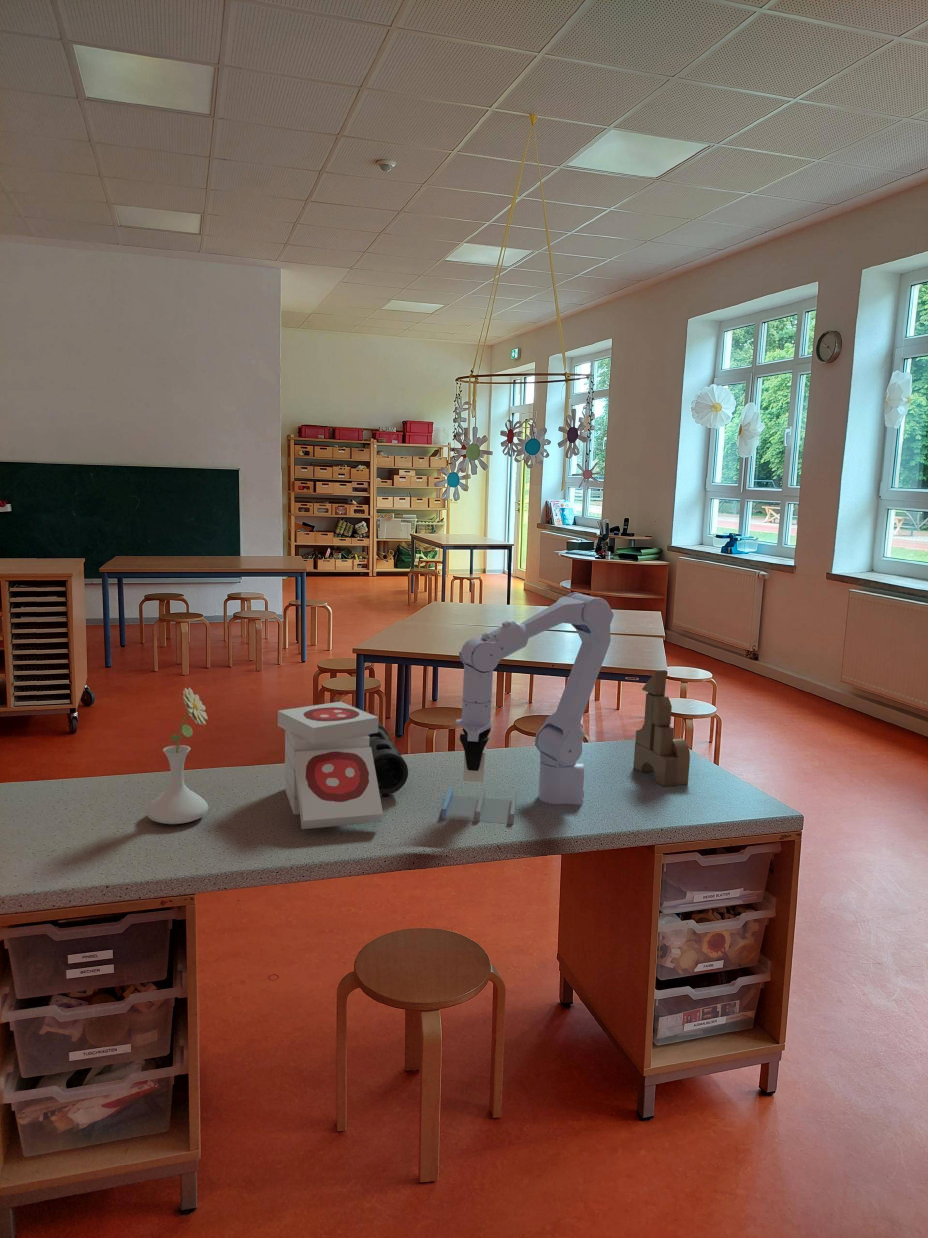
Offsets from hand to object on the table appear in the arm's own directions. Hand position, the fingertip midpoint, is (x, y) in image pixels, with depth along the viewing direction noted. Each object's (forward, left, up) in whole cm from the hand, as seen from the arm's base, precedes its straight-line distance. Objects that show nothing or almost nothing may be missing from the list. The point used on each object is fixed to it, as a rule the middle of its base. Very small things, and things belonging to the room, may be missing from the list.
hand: (474, 766), depth 176 cm
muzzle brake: (+23, -18, -10) cm, 31 cm away
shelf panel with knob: (-2, 0, -10) cm, 10 cm away
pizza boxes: (+28, +2, -10) cm, 30 cm away
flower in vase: (+55, +12, -10) cm, 58 cm away
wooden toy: (-41, -33, -10) cm, 53 cm away
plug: (0, 0, -2) cm, 2 cm away
